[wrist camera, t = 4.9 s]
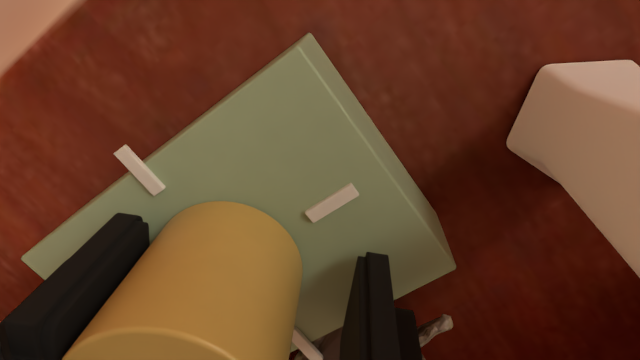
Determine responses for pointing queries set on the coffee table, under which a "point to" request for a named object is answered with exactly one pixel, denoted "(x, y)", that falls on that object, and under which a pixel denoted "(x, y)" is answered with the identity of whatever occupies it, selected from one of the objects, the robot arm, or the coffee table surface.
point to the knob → (203, 292)
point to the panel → (283, 186)
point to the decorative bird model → (331, 341)
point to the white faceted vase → (589, 142)
